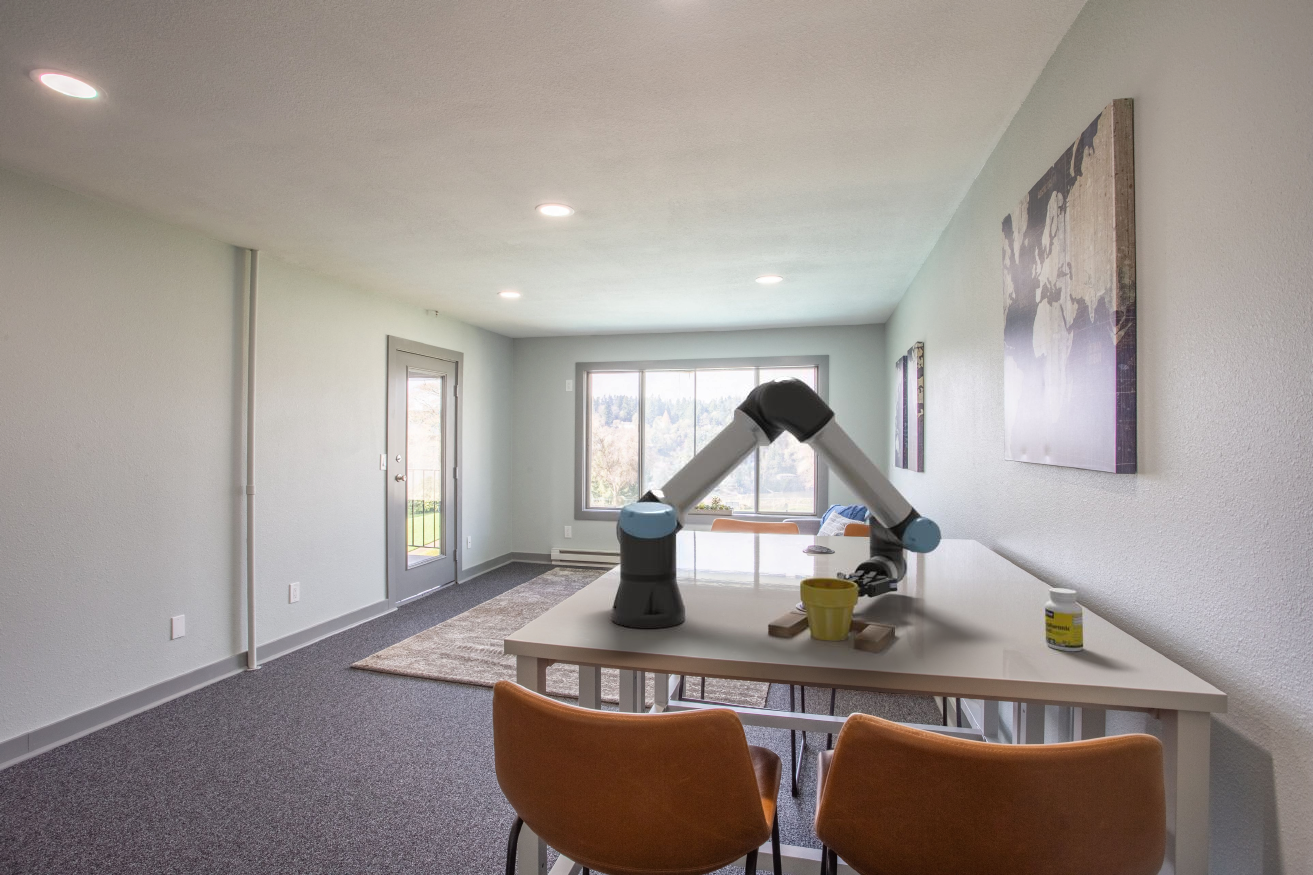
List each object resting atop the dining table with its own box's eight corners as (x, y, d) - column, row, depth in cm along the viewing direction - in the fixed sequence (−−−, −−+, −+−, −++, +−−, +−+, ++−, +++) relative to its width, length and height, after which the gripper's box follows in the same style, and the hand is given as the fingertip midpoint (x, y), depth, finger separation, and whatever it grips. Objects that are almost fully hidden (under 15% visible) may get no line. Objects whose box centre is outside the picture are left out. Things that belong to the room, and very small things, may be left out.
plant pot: (862, 646, 108) (861, 589, 108) (801, 642, 110) (800, 587, 110) (855, 629, 118) (854, 578, 118) (800, 627, 120) (799, 576, 120)
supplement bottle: (1038, 644, 108) (1037, 588, 108) (1059, 640, 110) (1057, 585, 110) (1070, 653, 103) (1068, 594, 103) (1090, 649, 105) (1089, 591, 105)
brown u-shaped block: (768, 633, 115) (768, 624, 115) (792, 619, 125) (792, 610, 125) (877, 652, 104) (877, 641, 104) (895, 635, 114) (895, 625, 114)
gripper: (906, 596, 134) (878, 620, 115) (846, 589, 141) (810, 610, 122) (906, 561, 134) (877, 579, 115) (846, 556, 142) (810, 572, 122)
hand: (843, 595), depth 118 cm, fingers closed
